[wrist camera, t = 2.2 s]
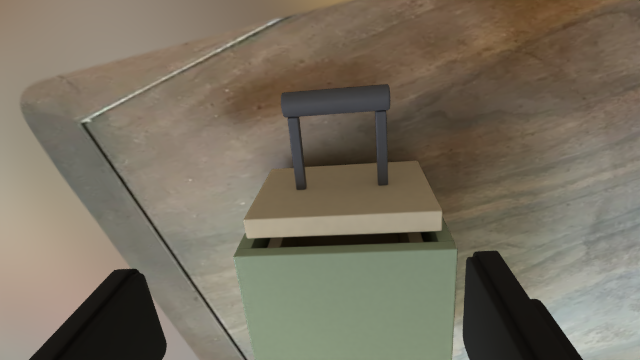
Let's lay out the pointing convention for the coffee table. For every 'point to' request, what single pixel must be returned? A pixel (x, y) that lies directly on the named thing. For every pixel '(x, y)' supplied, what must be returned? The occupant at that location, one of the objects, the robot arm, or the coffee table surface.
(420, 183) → the drawer
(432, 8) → the coffee table surface
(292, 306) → the cabinet
